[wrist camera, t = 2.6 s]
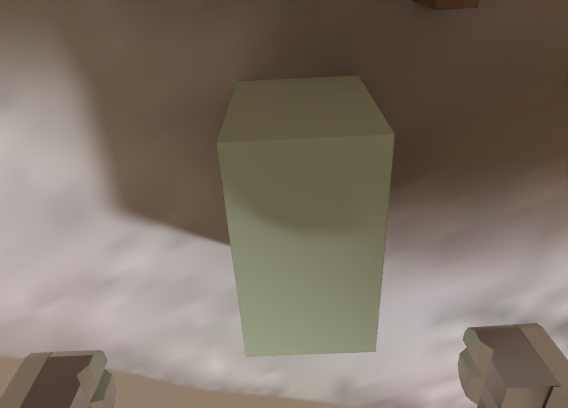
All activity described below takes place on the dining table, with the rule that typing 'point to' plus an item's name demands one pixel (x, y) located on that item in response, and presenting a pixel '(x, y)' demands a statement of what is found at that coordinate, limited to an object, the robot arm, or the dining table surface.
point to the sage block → (306, 212)
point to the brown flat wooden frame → (448, 4)
